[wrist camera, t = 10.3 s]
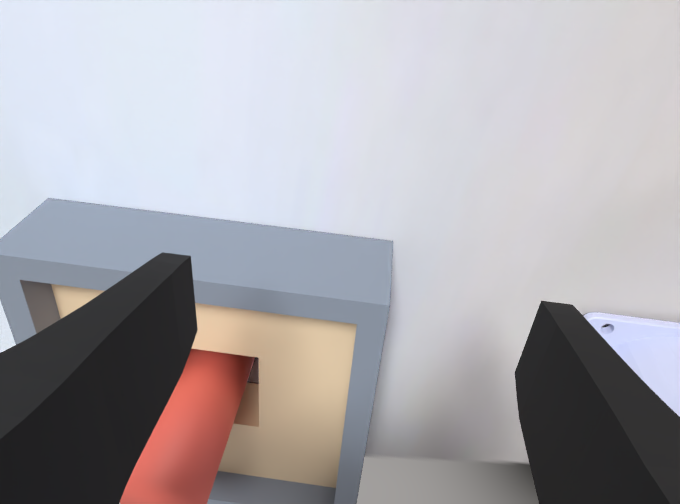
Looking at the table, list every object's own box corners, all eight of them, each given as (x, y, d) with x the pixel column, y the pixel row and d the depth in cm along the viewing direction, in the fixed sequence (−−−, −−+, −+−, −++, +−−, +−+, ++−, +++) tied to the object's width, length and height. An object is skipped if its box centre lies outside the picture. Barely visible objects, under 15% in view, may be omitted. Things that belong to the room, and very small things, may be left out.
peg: (256, 326, 25) (200, 487, 18) (256, 373, 26) (205, 535, 20) (191, 317, 25) (112, 473, 18) (195, 364, 26) (124, 522, 20)
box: (392, 241, 21) (389, 305, 18) (358, 459, 29) (351, 531, 26) (48, 198, 22) (-16, 252, 19) (105, 422, 30) (66, 489, 26)
